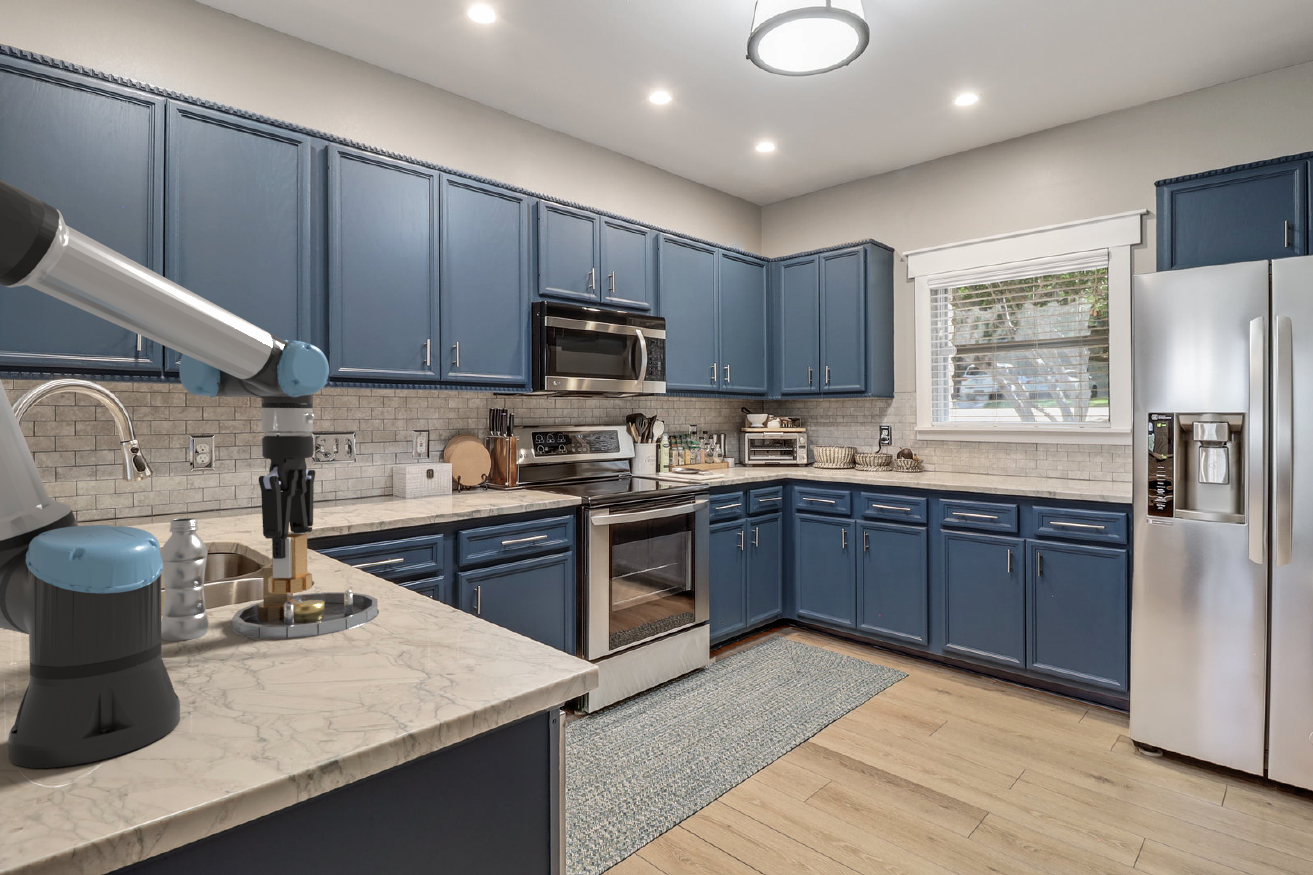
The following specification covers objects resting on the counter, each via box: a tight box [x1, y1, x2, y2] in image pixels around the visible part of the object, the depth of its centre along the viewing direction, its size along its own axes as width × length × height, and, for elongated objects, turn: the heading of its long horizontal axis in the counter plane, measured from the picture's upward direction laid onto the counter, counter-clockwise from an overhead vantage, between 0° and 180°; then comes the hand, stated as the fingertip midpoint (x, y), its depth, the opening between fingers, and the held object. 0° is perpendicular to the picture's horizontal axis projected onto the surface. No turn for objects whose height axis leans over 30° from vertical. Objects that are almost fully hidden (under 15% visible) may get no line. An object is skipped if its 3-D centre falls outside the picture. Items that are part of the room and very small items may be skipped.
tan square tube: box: [258, 563, 299, 620], centre depth 123 cm, size 6×6×9 cm
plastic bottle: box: [160, 517, 210, 642], centre depth 111 cm, size 6×7×20 cm
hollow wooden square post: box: [268, 533, 313, 594], centre depth 114 cm, size 6×6×9 cm
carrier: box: [231, 589, 380, 640], centre depth 121 cm, size 23×23×6 cm
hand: (289, 573), depth 115 cm, fingers closed on hollow wooden square post, 4 cm apart
